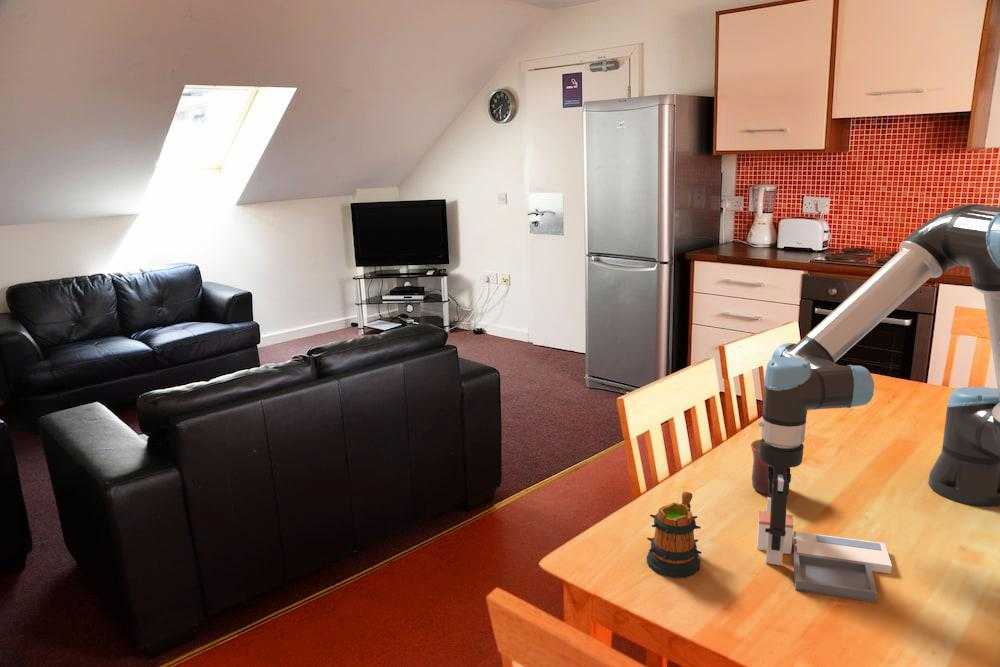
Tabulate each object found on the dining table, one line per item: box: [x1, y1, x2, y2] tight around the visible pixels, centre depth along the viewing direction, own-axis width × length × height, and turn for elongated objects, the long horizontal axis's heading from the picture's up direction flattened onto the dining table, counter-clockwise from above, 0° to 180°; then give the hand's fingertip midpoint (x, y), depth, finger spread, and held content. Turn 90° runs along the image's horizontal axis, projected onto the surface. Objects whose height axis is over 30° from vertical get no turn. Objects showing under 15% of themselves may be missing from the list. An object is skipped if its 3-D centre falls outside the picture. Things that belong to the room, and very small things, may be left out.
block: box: [756, 511, 794, 555], centre depth 142 cm, size 6×4×6 cm, turn 71°
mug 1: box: [646, 491, 702, 579], centre depth 137 cm, size 13×10×12 cm
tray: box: [792, 551, 878, 603], centre depth 131 cm, size 13×10×2 cm
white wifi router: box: [792, 530, 893, 575], centre depth 139 cm, size 16×8×2 cm, turn 71°
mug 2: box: [750, 438, 771, 496], centre depth 162 cm, size 12×9×10 cm
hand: (773, 545), depth 143 cm, fingers open, 12 cm apart
